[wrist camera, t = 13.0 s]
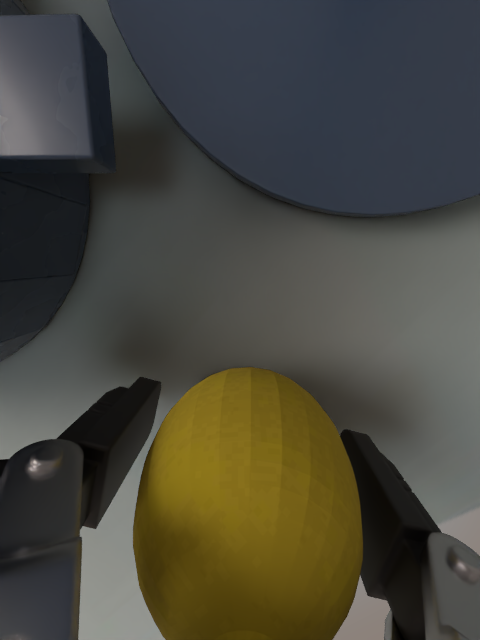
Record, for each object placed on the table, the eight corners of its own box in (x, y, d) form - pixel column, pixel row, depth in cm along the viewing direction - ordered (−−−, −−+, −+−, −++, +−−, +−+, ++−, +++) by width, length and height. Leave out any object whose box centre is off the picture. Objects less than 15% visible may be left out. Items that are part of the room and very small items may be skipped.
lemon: (212, 316, 11) (110, 470, 3) (337, 369, 11) (550, 638, 3) (165, 429, 12) (4, 753, 4) (279, 474, 12) (332, 856, 4)
